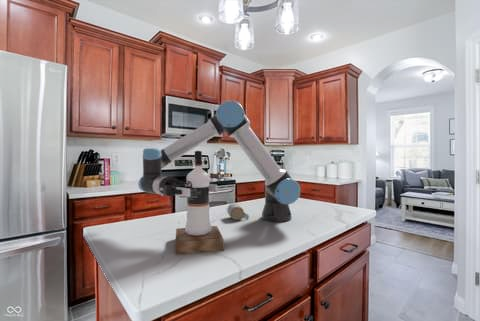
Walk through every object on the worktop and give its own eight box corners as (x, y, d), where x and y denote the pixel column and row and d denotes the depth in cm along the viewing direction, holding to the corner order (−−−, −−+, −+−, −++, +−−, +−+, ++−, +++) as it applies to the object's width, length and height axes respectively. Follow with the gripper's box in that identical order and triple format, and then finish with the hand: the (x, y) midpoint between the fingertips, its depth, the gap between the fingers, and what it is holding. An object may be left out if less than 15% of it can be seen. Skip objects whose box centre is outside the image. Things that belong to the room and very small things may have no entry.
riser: (216, 235, 99) (216, 225, 99) (223, 250, 84) (223, 238, 84) (176, 238, 96) (176, 228, 95) (175, 255, 80) (175, 242, 80)
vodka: (215, 233, 89) (215, 150, 88) (191, 238, 83) (191, 150, 82) (203, 227, 96) (203, 151, 95) (181, 231, 91) (181, 150, 90)
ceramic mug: (230, 221, 121) (230, 205, 120) (227, 217, 129) (227, 202, 128) (251, 220, 123) (251, 205, 123) (246, 216, 131) (246, 202, 131)
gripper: (189, 191, 110) (226, 196, 98) (138, 199, 90) (175, 206, 77) (189, 174, 110) (226, 177, 97) (138, 179, 90) (175, 183, 77)
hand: (203, 190), depth 87 cm, fingers open, 13 cm apart
